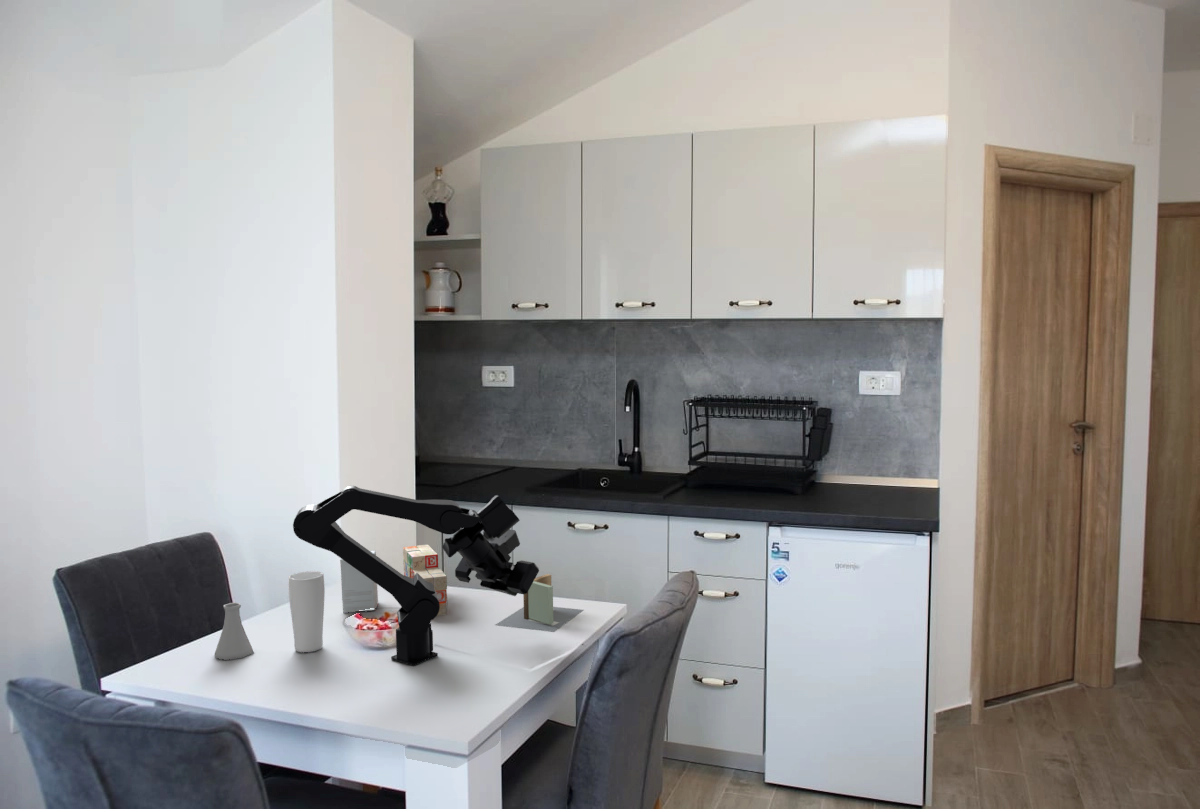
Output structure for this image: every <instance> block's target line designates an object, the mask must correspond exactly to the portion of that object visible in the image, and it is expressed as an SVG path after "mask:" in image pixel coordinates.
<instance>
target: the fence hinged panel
mask: <svg viewBox="0 0 1200 809" xmlns="http://www.w3.org/2000/svg"><path fill="white" fill-rule="evenodd" d="M528 606H529V618H530V619H534V620H537V621H540V622H543V623H546V624H552V623H553V607H554V586H553V585H552V586H550V585H546V584H543V583H539V582H535V581H533V583H532V585H531V587H530V589H529V591H528Z"/></svg>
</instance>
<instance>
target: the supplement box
mask: <svg viewBox="0 0 1200 809" xmlns="http://www.w3.org/2000/svg"><path fill="white" fill-rule="evenodd" d="M369 551H370V552H372V553H373V554H375V555H376V556H377V554H376V553H377V552H376V550H369ZM339 561H340V577H341V578H340V579H341V580H340V581H341V600H342V613H343V614H347V613H348V612H349V613H356V612H355V611H359V610H365V609H370V608H377V606H378V604H379V594H378V592H379V591H378V584H376V583H375V582H374V581H372V580H371V579H369V578H368V577H367V576H365V575H364V574H362V573H361V572H360V571H358V570H357V569H355V568H354V567H352V566H351V565H350V564H348V563H347V562H345V561H344V560H343V559H341V558H340V559H339ZM352 611H353V612H352Z"/></svg>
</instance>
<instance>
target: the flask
mask: <svg viewBox="0 0 1200 809" xmlns="http://www.w3.org/2000/svg"><path fill="white" fill-rule="evenodd" d="M241 606H242V605H241V603H240V602H229V603H226V604H223V610H224V612H225V613H224V614H225V615H224V622H223V627H222V630H221V632H220V636H219V640H218V643H217V645H216V648H215V651H214V657H215V656H216V658H215V659H217V658H219V659H218V660H222V659H224V661H230V660H235V659H243V658H244V657H247V656H249V655H251V654H254V653H255V652H254V649H253V647H252V645H251V642H250V640H249V638H248V635H247V634H246V631H245V628H244V625H243V623H242V620H241V612H240V608H241ZM229 659H230V660H229Z"/></svg>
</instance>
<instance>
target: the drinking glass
mask: <svg viewBox="0 0 1200 809" xmlns="http://www.w3.org/2000/svg"><path fill="white" fill-rule="evenodd" d="M287 585H288V600H289V609H290V614H291V615H290V616H291V622H292V631H293V640H294V649H295V651H296V652H298V653H302V652H303V653H304V652H308V653H313V651H314V652H316V651H319V650H320V649H322V647H323V645H324V644H323V643H324V642H323V640H324V639H323V638H324V637H323V635H324V633H323V632H324V614H325V613H324V611H325V598H326V597H325V594H326V593H325V592H326V591H325V590H326V589H325V577H324V573H323V572H322V571H315V570H310V571H309V570H308V571H299V572H297V573H293V574H290V575H289V576H288V584H287Z"/></svg>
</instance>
